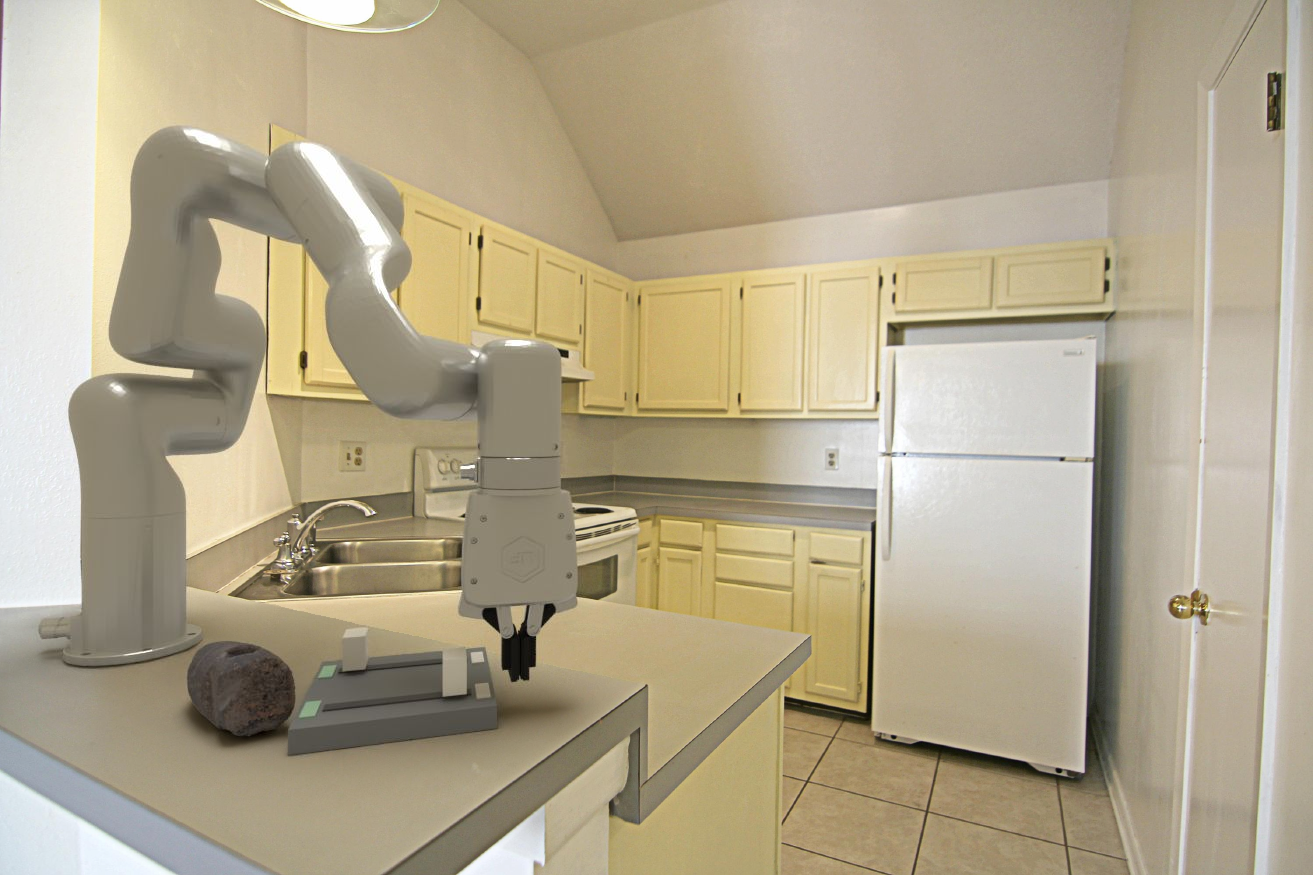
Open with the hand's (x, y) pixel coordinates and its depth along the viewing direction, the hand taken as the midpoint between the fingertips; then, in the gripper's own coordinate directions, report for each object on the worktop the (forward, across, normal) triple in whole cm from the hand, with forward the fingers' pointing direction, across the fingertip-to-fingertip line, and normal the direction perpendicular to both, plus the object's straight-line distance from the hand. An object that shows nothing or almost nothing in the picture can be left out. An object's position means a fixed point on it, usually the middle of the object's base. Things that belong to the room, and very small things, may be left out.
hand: (518, 675), depth 61 cm
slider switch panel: (+3, -10, +4) cm, 12 cm away
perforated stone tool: (+3, -24, +5) cm, 25 cm away
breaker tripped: (+1, -6, 0) cm, 6 cm away
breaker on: (+1, -15, +9) cm, 17 cm away
